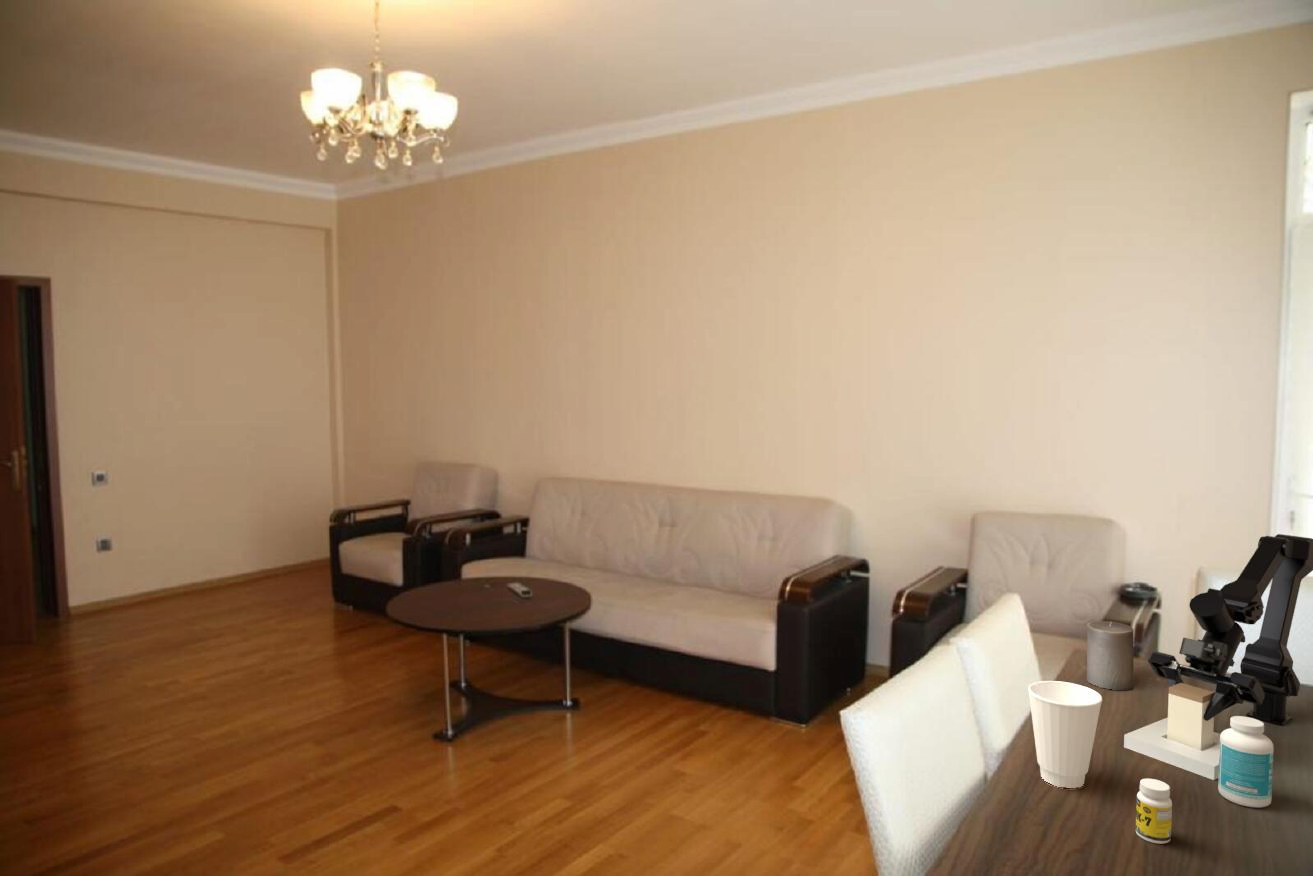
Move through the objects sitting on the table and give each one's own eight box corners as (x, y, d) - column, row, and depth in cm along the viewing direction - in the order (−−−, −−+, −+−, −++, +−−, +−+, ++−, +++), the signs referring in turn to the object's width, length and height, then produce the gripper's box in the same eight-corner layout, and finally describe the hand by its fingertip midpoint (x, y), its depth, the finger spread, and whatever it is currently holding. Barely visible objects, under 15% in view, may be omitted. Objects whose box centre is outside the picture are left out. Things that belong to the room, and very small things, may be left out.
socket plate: (1167, 729, 170) (1168, 717, 170) (1256, 758, 157) (1257, 746, 157) (1123, 747, 162) (1124, 734, 162) (1213, 780, 148) (1214, 766, 148)
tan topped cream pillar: (1179, 737, 163) (1181, 682, 162) (1212, 749, 158) (1214, 692, 157) (1166, 743, 161) (1168, 687, 160) (1200, 754, 156) (1202, 697, 155)
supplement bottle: (1128, 829, 132) (1130, 777, 132) (1156, 827, 133) (1158, 776, 132) (1149, 845, 127) (1150, 792, 127) (1178, 844, 128) (1180, 790, 127)
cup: (1093, 770, 152) (1096, 684, 151) (1105, 801, 141) (1108, 708, 140) (1023, 761, 156) (1025, 677, 155) (1028, 790, 145) (1031, 700, 144)
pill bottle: (1280, 812, 137) (1283, 732, 136) (1230, 807, 139) (1233, 728, 138) (1257, 790, 145) (1260, 714, 144) (1210, 786, 146) (1212, 711, 145)
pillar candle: (1134, 681, 198) (1135, 618, 197) (1131, 694, 190) (1132, 628, 189) (1088, 674, 203) (1089, 613, 202) (1084, 686, 195) (1084, 623, 194)
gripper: (1154, 611, 168) (1121, 675, 163) (1260, 635, 152) (1227, 706, 147) (1173, 643, 172) (1142, 706, 167) (1278, 669, 157) (1247, 740, 151)
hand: (1187, 713), depth 158 cm, fingers closed on tan topped cream pillar, 6 cm apart
